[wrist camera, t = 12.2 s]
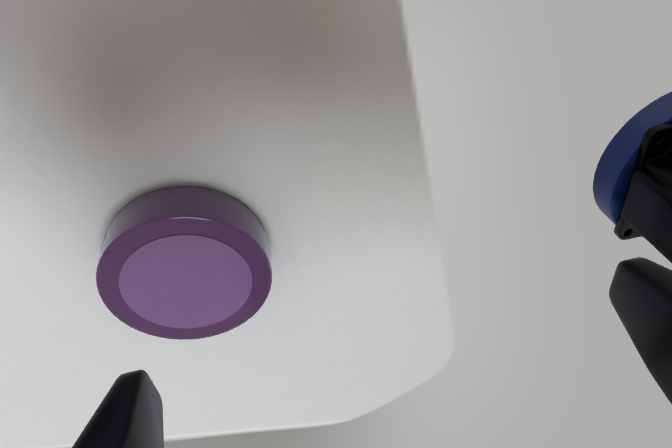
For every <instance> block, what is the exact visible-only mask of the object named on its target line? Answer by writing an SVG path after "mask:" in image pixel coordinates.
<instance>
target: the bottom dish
mask: <svg viewBox="0 0 672 448" xmlns="http://www.w3.org/2000/svg"><path fill="white" fill-rule="evenodd" d="M96 283H97V288H98V291H99V294H100V296H101V298H102V300H103V302H104V304H105V305H106V307H107V308H108V309H109V310H110V311H111V312H112V313H113V315H114V316H116V317H117V318H118V319H119V320H121V321H122V322H123V323H125V324H127V325H128V326H130V327H132V328H134V329H136V330H138V331H141V332H144V333H146V334H149V335H153V336H157V337H162V338H168V339H199V338H205V337H211V336H214V335H218V334H221V333H224V332H227V331H229V330H231V329H234V328H236V327H238V326H239V325H241V324H243V323H244V322H246V321H247V320H248V319H250V318H251V317H252V316H253V315H254V314H255V313H256V312H257V311H258V310H259V309H260V308H261V306H262V305H263V304H264V302H265V300H266V298H267V296H268V294H269V291H270V289H271V283H272V269H271V262H270V254H269V246H268V240H267V235H266V233H265V230H264V228H263V226H262V224H261V222H260V221H259V219H258V218H257V217H256V216H255V214H254V213H253V212H252V211H251V210H250V209H249V208H247V207H246V206H245V205H243V204H242V203H241V202H239V201H238V200H236V199H234V198H232V197H230V196H228V195H226V194H223V193H221V192H217V191H214V190H211V189H205V188H200V187H172V188H165V189H161V190H157V191H153V192H150V193H148V194H145V195H143V196H141V197H139V198H137V199H135V200H133V201H132V202H131V203H129V204H128V205H126V206H125V207H124V208H123V209H122V210H121V211H120V212H119V213H118V214H117V215H116V216H115V218H114V219H113V220H112V222H111V224H110V226H109V228H108V230H107V234H106V237H105V240H104V244H103V248H102V251H101V255H100V259H99V262H98V266H97V272H96Z"/></svg>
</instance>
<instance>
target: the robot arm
mask: <svg viewBox="0 0 672 448" xmlns="http://www.w3.org/2000/svg"><path fill="white" fill-rule="evenodd" d="M614 233H615V234H616V235H617V236H618V237H619V238H620V239H622V240H626V239H631V238H635V237H640V236H643V237H644V238H646V239H647V240H648V241H649V242H650V243H651V244H652V245H653V246H654V247H655V248H656V249H657V250H658V251H659V252H660V253H662V255H664V256H665V257H666V258H667V259H668V260H669V261H670V262H671V263H672V122H667V123H662V124H657V125H654V126H652V127H650V128H649V129H648V130H647V131H646V132H645V133H644V135H643V138H642V141H641V144H640V148H639V151H638V154H637V157H636V161H635V164H634V167H633V170H632V174H631V177H630V180H629V183H628V187H627V190H626V193H625V196H624V200H623V203H622V206H621V209H620V213H619V216H618V219H617V222H616V226H615V230H614ZM609 296H610V300H611V303H612V305H613V307H614V308H615V310H616V312H617V314H618V315H619V318H620V319H621V321H622V323H623V325H624V326H625V328H626V330H627V332H628V334H629V336H630V338H631V339H632V341H633V343H634V345H635V347H636V348H637V350H638V352H639V354H640V356H641V358H642V359H643V361H644V363H645V365H646V366H647V368H648V370H649V371H650V373H651V374H652V376H653V378H654V379H655V381H656V382H657V384H658V385H659V386H660V388H661V389H662V391H663V392H664V393H665V395H666V397H667V398H668V400H669V401H670V402H671V404H672V270H670V269H668V268H665V267H663V266H661V265H658V264H657V263H655V262H652V261H650V260H648V259H645V258H640V257H639V258H633V259H629V260H625V261H622V262H620V263H619V264H618V266H617V268H616V271H615V274H614V277H613V280H612V283H611V286H610V291H609ZM72 448H164V435H163V407H162V400H161V397H160V394H159V392H158V391H157V389H156V387H155V386H154V384H153V382H152V381H151V379H150V377H149V376H148V374H147V373H146V372H145V371H144V370H138V371H133V372H129V373H124V374H122V375H120V376H119V377H118V378H117V380H116V381H115V383H114V384H113V386H112V387H111V389H110V390H109V392H108V393H107V395H106V396H105V398H104V399H103V401H102V402H101V404H100V406H99V407H98V409H97V410H96V412H95V413H94V415H93V416H92V418H91V419H90V421H89V422H88V424H87V426H86V427H85V429H84V430H83V432H82V433H81V435H80V436H79V438H78V439H77V441H76V442H75V444H74V445H73V447H72Z"/></svg>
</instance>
